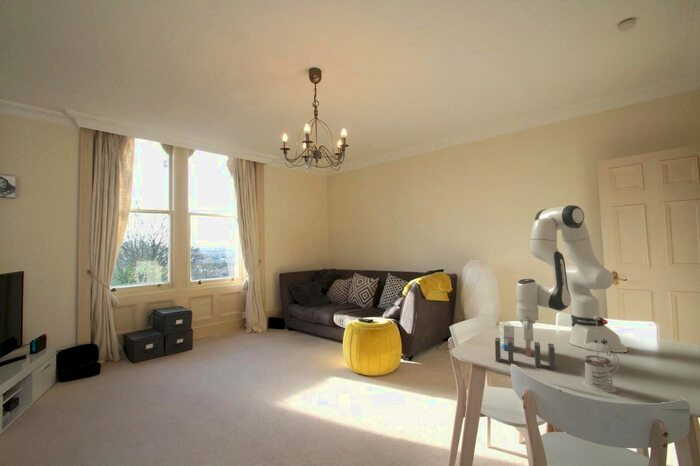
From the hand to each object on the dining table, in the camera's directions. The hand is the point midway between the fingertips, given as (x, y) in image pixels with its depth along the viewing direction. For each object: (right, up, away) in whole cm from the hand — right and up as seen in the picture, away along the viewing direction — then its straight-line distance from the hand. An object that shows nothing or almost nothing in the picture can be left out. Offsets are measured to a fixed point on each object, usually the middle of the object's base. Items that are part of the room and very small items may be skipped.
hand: (528, 345), depth 147 cm
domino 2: (-12, -4, -8) cm, 15 cm away
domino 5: (+1, -4, -15) cm, 16 cm away
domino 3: (0, -4, 0) cm, 4 cm away
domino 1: (-17, -4, -6) cm, 18 cm away
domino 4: (-3, -4, -13) cm, 14 cm away
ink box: (-5, -5, +9) cm, 12 cm away
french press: (+8, -4, -32) cm, 34 cm away
